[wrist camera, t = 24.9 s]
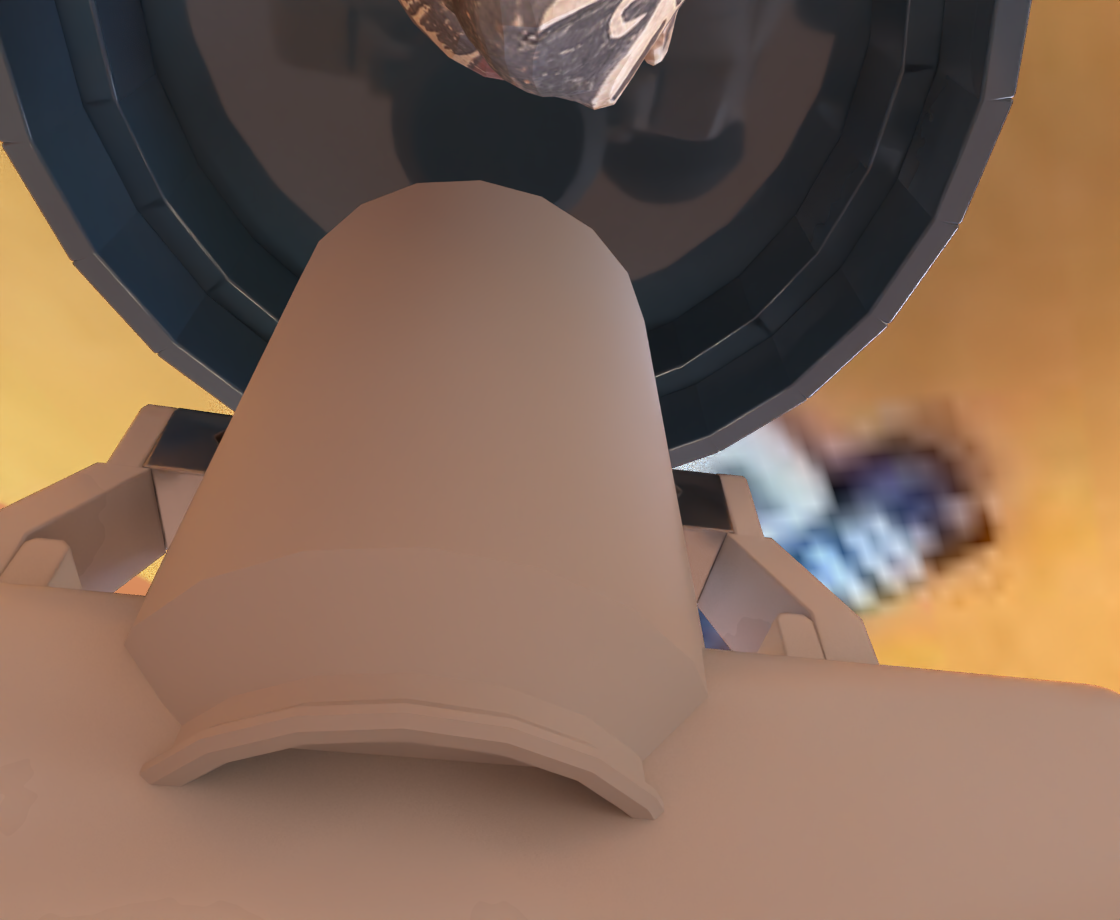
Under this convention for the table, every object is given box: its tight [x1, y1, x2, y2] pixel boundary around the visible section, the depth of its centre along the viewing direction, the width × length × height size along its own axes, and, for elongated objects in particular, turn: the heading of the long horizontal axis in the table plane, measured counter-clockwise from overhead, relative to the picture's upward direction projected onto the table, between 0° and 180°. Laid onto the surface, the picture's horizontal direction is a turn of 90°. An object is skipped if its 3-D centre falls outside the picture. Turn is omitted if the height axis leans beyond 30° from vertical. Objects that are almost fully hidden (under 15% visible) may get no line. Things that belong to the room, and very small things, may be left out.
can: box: [124, 180, 709, 820], centre depth 14 cm, size 8×8×12 cm
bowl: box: [0, 0, 1032, 468], centre depth 19 cm, size 20×20×6 cm
